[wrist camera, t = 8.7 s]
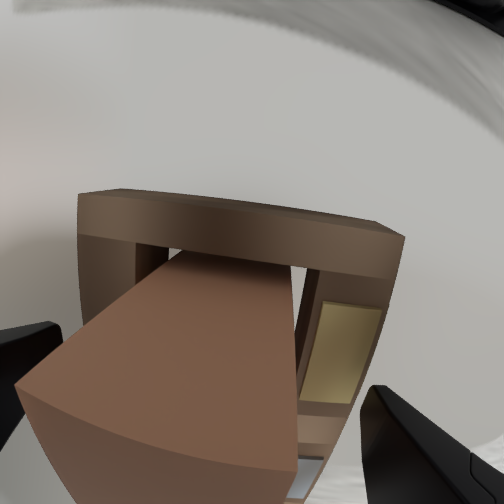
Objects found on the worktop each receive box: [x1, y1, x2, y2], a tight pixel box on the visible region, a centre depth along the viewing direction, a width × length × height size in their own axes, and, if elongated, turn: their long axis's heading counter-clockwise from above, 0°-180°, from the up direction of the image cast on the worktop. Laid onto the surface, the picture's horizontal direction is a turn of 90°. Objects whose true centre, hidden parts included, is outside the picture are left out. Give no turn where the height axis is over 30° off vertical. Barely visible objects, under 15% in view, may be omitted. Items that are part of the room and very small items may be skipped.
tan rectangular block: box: [14, 250, 298, 504], centre depth 8 cm, size 4×4×9 cm
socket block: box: [77, 189, 405, 504], centre depth 11 cm, size 10×15×3 cm
